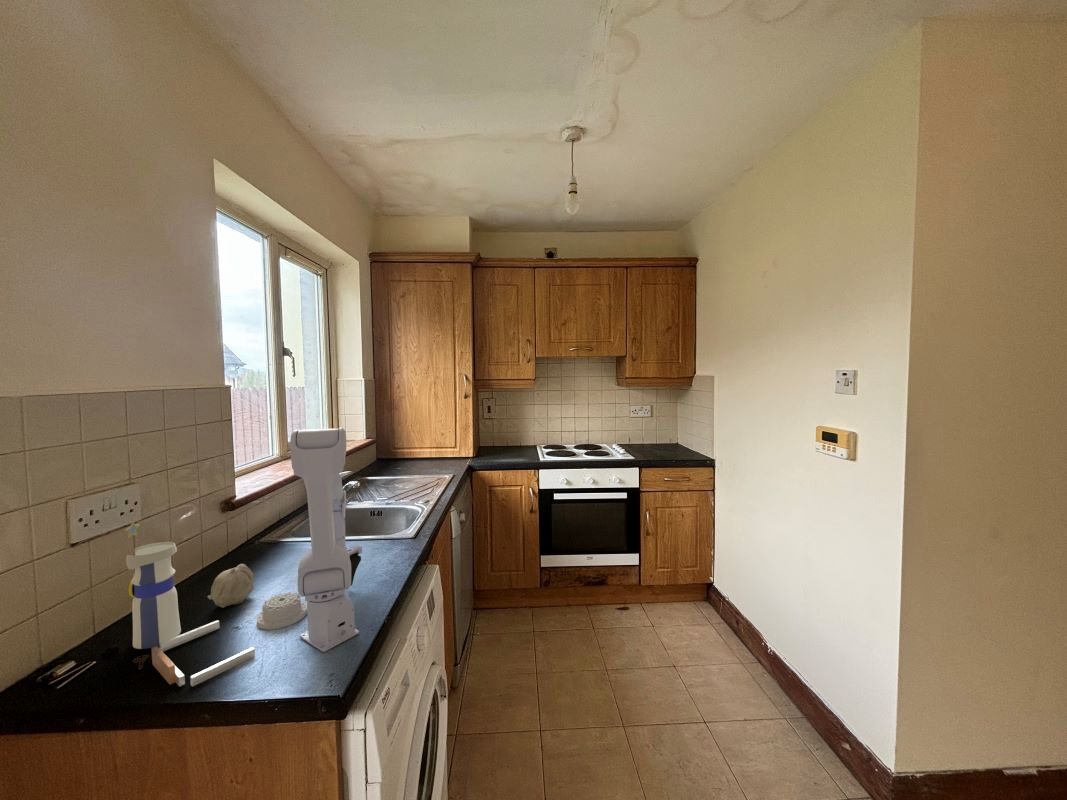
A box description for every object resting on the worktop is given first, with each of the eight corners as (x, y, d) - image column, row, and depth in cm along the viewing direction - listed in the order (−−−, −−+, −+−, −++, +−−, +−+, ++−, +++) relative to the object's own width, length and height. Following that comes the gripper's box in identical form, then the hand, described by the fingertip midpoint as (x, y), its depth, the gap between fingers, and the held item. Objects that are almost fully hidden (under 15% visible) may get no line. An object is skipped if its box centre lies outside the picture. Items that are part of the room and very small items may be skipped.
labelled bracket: (254, 656, 84) (254, 640, 84) (177, 694, 74) (176, 676, 74) (218, 627, 94) (217, 612, 94) (146, 656, 84) (145, 640, 84)
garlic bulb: (247, 603, 109) (258, 561, 112) (252, 610, 103) (264, 566, 106) (202, 603, 104) (215, 560, 106) (204, 611, 97) (218, 565, 100)
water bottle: (120, 655, 85) (113, 531, 84) (140, 632, 93) (133, 518, 92) (172, 644, 88) (166, 525, 87) (187, 623, 96) (181, 513, 95)
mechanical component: (314, 616, 99) (296, 602, 105) (314, 597, 99) (295, 584, 105) (266, 636, 91) (250, 620, 97) (265, 616, 91) (249, 601, 97)
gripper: (350, 525, 115) (352, 575, 115) (294, 543, 103) (296, 598, 103) (366, 530, 111) (367, 582, 111) (310, 549, 99) (312, 607, 99)
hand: (334, 590), depth 107 cm, fingers open, 7 cm apart
